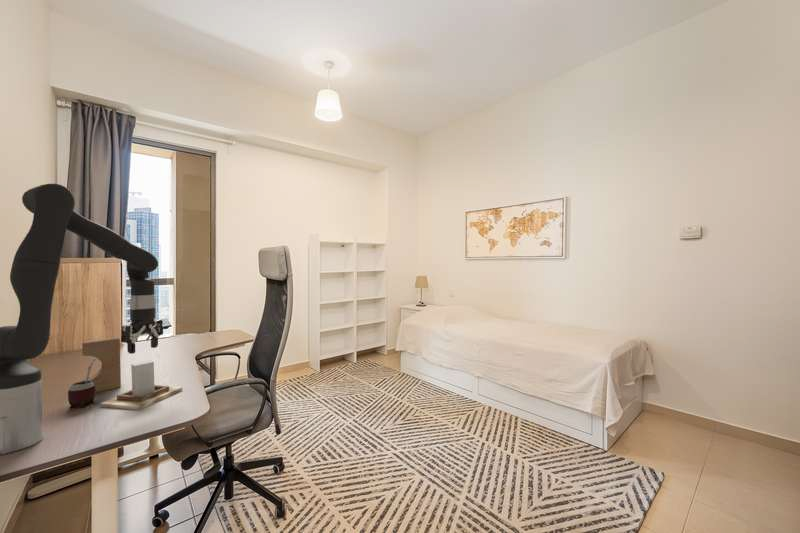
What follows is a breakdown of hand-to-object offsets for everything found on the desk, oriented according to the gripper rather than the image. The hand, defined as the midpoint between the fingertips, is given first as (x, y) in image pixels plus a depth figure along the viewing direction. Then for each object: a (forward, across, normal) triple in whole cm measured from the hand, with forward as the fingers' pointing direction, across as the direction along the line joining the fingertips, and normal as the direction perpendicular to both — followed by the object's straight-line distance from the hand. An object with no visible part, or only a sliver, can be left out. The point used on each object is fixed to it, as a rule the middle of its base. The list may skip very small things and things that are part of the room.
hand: (143, 350), depth 123 cm
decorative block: (+18, -4, -25) cm, 31 cm away
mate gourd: (+18, +9, -16) cm, 26 cm away
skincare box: (+17, 0, 0) cm, 17 cm away
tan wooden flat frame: (+18, 0, 0) cm, 18 cm away
